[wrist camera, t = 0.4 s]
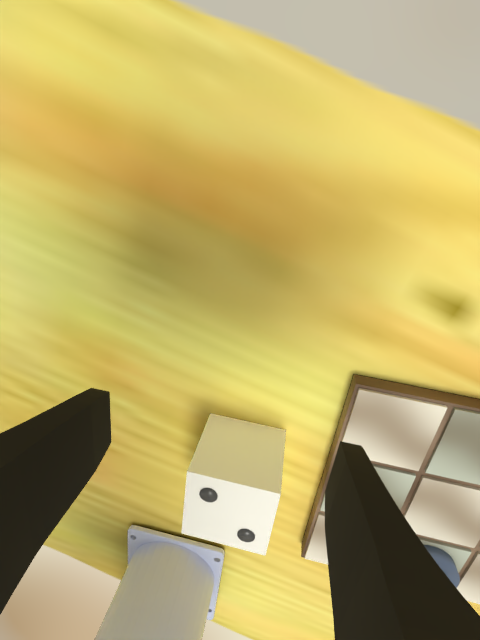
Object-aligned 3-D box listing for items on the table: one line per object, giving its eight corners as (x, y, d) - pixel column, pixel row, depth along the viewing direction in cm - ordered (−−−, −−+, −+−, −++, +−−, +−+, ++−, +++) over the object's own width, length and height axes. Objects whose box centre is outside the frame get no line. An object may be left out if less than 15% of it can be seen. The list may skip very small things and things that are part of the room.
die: (274, 484, 25) (266, 557, 20) (204, 468, 25) (180, 534, 21) (287, 429, 23) (281, 495, 18) (210, 412, 23) (186, 472, 19)
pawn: (441, 591, 24) (487, 734, 18) (381, 575, 24) (406, 710, 18) (464, 554, 22) (523, 697, 16) (400, 537, 23) (433, 672, 17)
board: (515, 598, 25) (524, 617, 24) (301, 543, 26) (301, 559, 25) (642, 432, 18) (663, 448, 17) (353, 374, 20) (356, 385, 19)
